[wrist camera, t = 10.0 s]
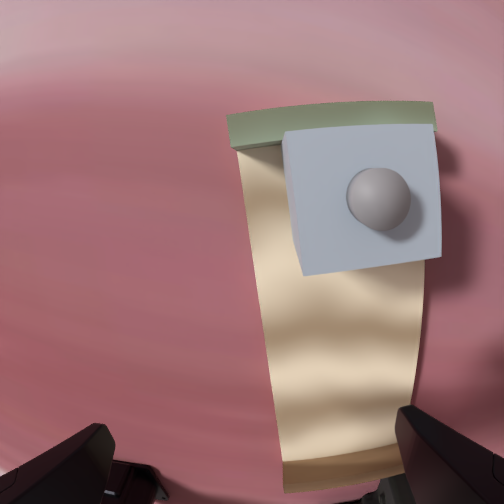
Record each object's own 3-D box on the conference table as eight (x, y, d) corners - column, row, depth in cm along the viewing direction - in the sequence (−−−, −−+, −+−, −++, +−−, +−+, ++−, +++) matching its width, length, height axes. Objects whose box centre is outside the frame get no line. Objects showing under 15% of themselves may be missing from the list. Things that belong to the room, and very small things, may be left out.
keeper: (389, 228, 16) (453, 264, 10) (292, 240, 17) (305, 286, 10) (381, 137, 15) (446, 120, 8) (280, 146, 16) (286, 127, 9)
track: (396, 444, 22) (406, 472, 18) (284, 462, 23) (284, 493, 19) (405, 112, 16) (432, 101, 12) (235, 125, 16) (226, 114, 13)
